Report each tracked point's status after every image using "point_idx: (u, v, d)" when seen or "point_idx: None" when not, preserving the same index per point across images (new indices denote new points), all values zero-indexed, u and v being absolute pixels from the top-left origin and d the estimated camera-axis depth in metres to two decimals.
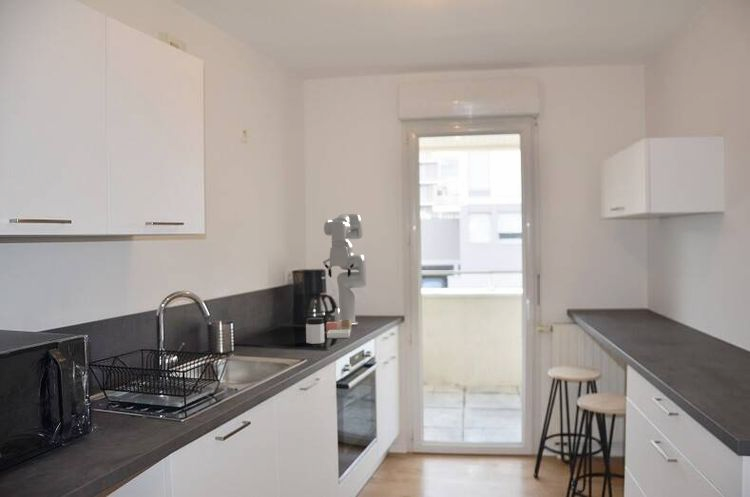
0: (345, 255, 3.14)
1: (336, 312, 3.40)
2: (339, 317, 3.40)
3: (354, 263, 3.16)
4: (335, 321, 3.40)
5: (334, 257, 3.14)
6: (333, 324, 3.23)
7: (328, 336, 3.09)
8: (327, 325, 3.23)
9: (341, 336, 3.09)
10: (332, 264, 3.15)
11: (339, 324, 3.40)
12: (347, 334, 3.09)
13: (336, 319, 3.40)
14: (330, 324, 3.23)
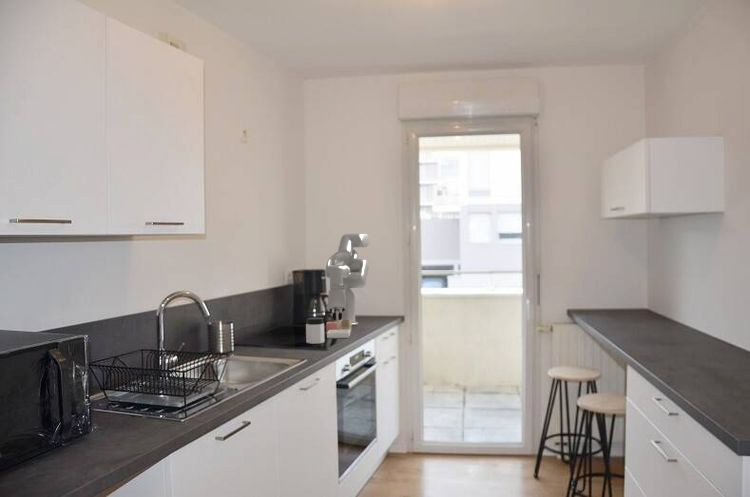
0: (342, 297, 3.38)
1: (336, 312, 3.40)
2: None
3: (346, 309, 3.40)
4: (335, 321, 3.40)
5: (332, 299, 3.38)
6: (333, 324, 3.23)
7: (328, 336, 3.09)
8: (327, 325, 3.23)
9: (341, 336, 3.09)
10: (330, 306, 3.39)
11: (339, 324, 3.40)
12: (347, 334, 3.09)
13: (336, 319, 3.40)
14: (330, 324, 3.23)
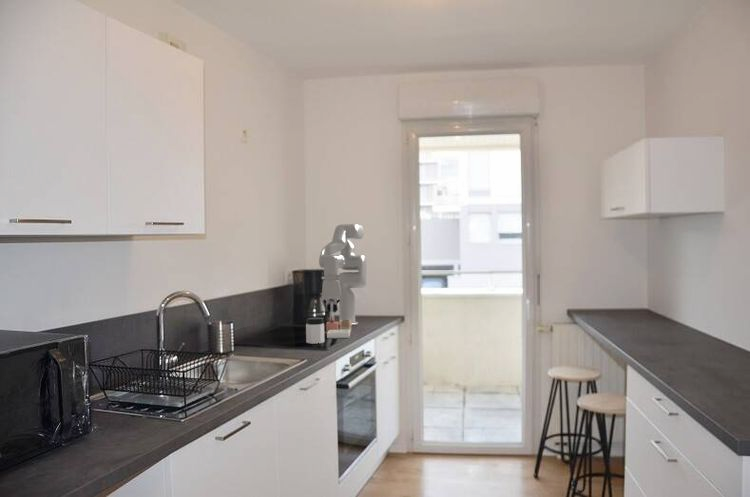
0: (337, 288, 3.24)
1: (330, 303, 3.25)
2: None
3: (341, 300, 3.26)
4: None
5: (326, 290, 3.24)
6: (333, 324, 3.23)
7: (328, 336, 3.09)
8: (327, 325, 3.23)
9: (341, 336, 3.09)
10: (324, 297, 3.24)
11: (334, 316, 3.26)
12: (347, 334, 3.09)
13: (330, 311, 3.25)
14: (330, 324, 3.23)
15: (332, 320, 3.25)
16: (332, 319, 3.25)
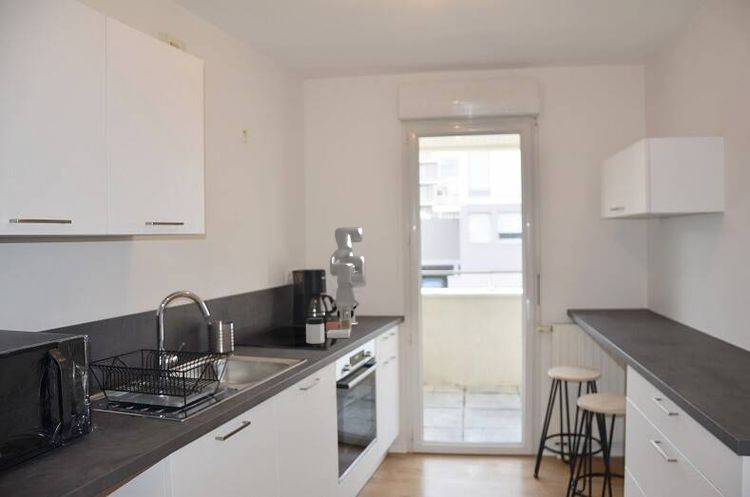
0: (351, 296, 3.31)
1: (344, 313, 3.32)
2: (347, 318, 3.33)
3: (357, 305, 3.32)
4: None
5: (340, 298, 3.31)
6: (333, 324, 3.23)
7: (328, 336, 3.09)
8: (327, 325, 3.23)
9: (341, 336, 3.09)
10: (338, 304, 3.31)
11: None
12: (347, 334, 3.09)
13: (344, 320, 3.32)
14: (330, 324, 3.23)
15: None
16: None
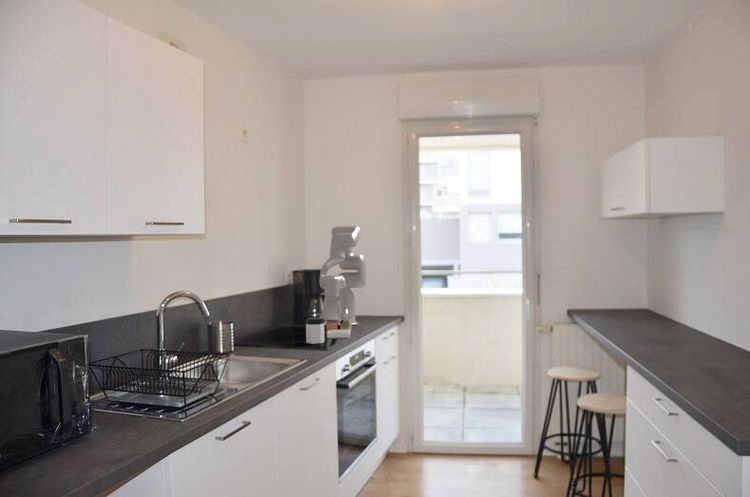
0: (338, 309, 3.24)
1: (344, 313, 3.32)
2: (347, 318, 3.33)
3: None
4: None
5: (327, 312, 3.24)
6: (333, 324, 3.23)
7: (328, 336, 3.09)
8: (327, 325, 3.23)
9: (341, 336, 3.09)
10: (325, 318, 3.24)
11: None
12: (347, 334, 3.09)
13: (344, 320, 3.32)
14: (330, 324, 3.23)
15: None
16: None
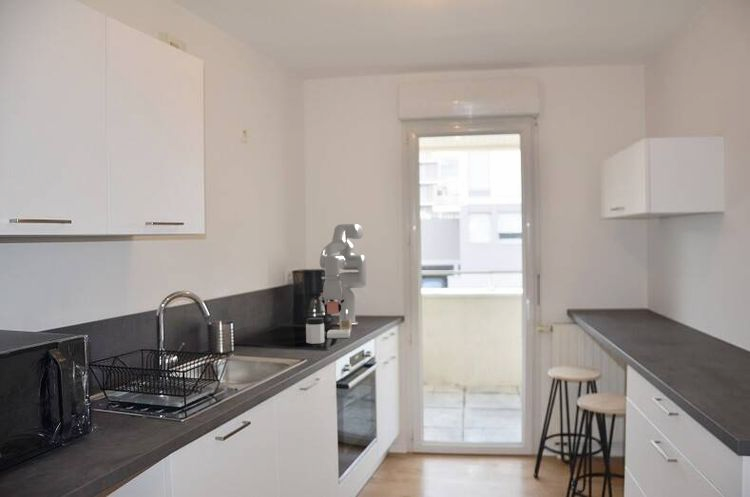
0: (338, 289, 3.21)
1: (344, 313, 3.32)
2: (347, 318, 3.33)
3: (345, 299, 3.23)
4: None
5: (328, 291, 3.21)
6: (333, 303, 3.21)
7: (328, 336, 3.09)
8: (328, 304, 3.21)
9: (341, 336, 3.09)
10: (326, 298, 3.22)
11: None
12: (347, 334, 3.09)
13: None
14: (331, 303, 3.21)
15: None
16: None
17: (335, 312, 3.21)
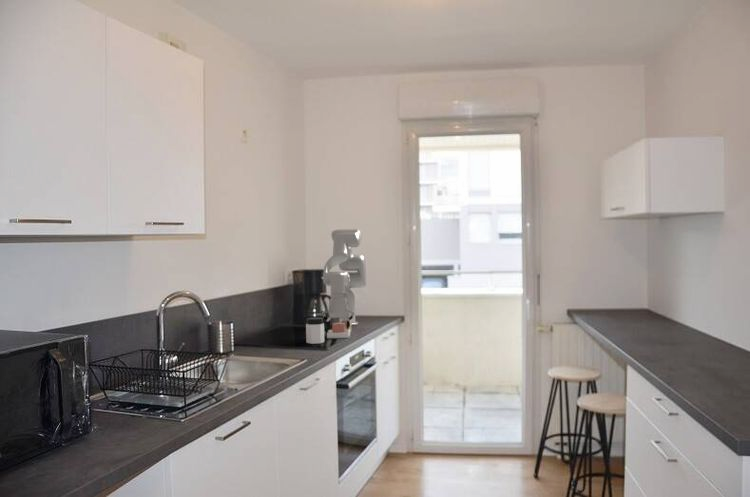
0: (344, 307, 3.12)
1: None
2: None
3: (353, 315, 3.14)
4: None
5: (333, 309, 3.12)
6: (339, 325, 3.12)
7: (328, 336, 3.09)
8: (333, 327, 3.12)
9: (341, 336, 3.09)
10: (331, 316, 3.13)
11: None
12: (347, 334, 3.09)
13: None
14: (336, 326, 3.12)
15: None
16: None
17: None
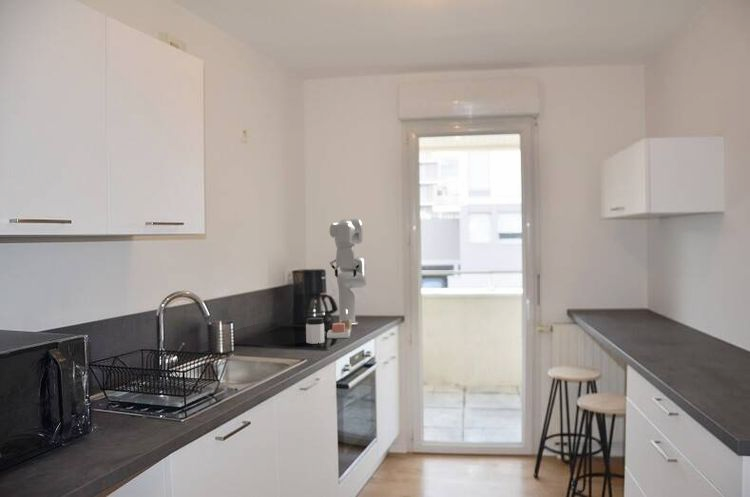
0: (351, 256, 3.29)
1: (344, 313, 3.32)
2: (347, 318, 3.33)
3: (359, 264, 3.31)
4: None
5: (340, 258, 3.29)
6: (339, 325, 3.12)
7: (328, 336, 3.09)
8: (333, 327, 3.12)
9: (341, 336, 3.09)
10: (338, 265, 3.30)
11: None
12: (347, 334, 3.09)
13: None
14: (336, 326, 3.12)
15: None
16: None
17: None
